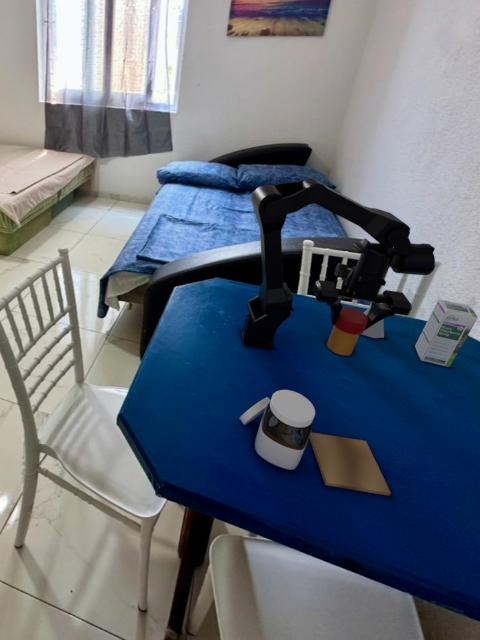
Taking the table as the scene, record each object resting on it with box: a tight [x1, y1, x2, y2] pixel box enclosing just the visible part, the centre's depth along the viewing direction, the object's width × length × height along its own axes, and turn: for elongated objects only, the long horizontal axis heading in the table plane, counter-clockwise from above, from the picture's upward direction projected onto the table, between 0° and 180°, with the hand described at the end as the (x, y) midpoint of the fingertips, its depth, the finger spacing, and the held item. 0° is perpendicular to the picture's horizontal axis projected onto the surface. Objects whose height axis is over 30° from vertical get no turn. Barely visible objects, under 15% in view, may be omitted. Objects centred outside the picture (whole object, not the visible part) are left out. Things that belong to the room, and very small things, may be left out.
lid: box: [335, 306, 368, 335], centre depth 95 cm, size 6×6×3 cm
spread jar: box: [238, 389, 316, 471], centre depth 72 cm, size 12×11×12 cm
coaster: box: [309, 432, 392, 497], centre depth 72 cm, size 10×10×1 cm
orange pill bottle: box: [326, 325, 361, 356], centre depth 97 cm, size 6×6×10 cm
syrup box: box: [414, 298, 478, 368], centre depth 94 cm, size 6×6×14 cm
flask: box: [361, 305, 385, 339], centre depth 103 cm, size 7×7×10 cm
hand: (347, 326), depth 96 cm, fingers closed on lid, 6 cm apart
